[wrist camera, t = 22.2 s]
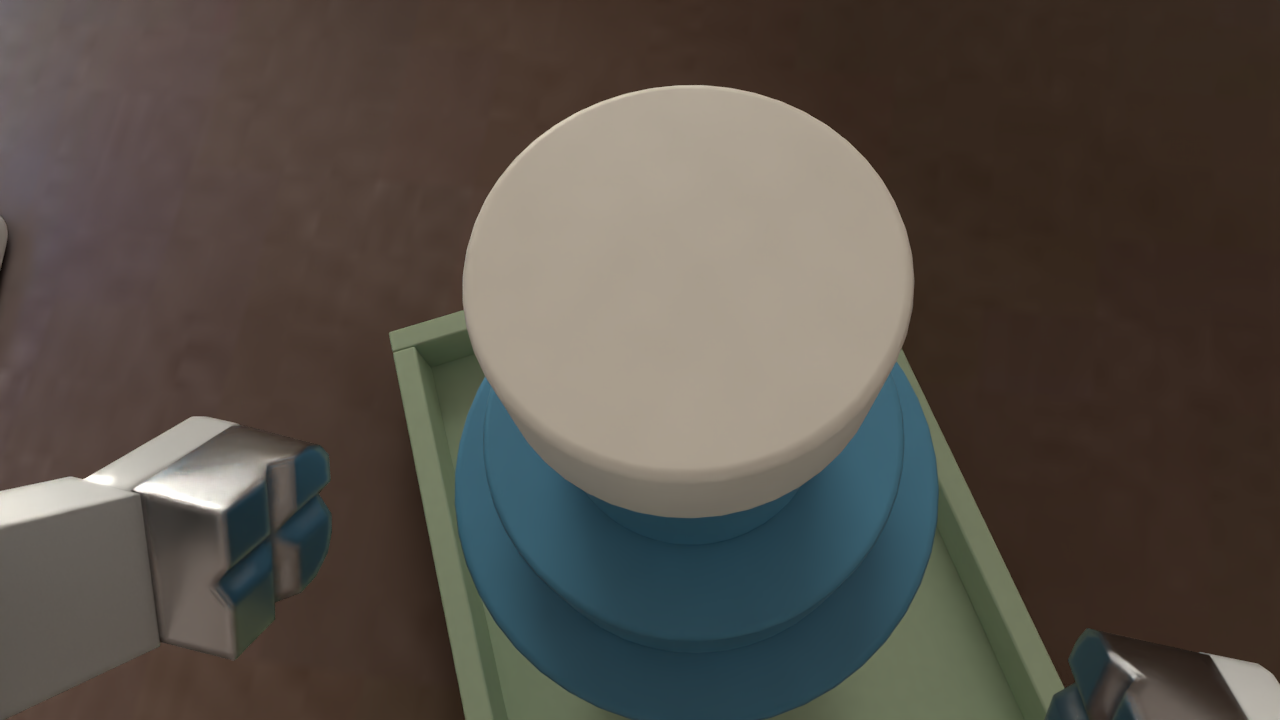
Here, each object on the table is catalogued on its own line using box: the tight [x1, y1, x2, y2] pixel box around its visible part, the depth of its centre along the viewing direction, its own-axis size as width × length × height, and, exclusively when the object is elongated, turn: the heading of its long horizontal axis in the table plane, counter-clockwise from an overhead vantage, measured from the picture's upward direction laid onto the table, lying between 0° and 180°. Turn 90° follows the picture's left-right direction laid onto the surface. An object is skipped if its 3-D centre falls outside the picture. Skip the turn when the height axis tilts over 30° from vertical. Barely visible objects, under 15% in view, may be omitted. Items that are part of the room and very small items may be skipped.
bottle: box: [455, 85, 939, 720], centre depth 12 cm, size 5×5×16 cm
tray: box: [389, 310, 1064, 720], centre depth 20 cm, size 15×12×2 cm
